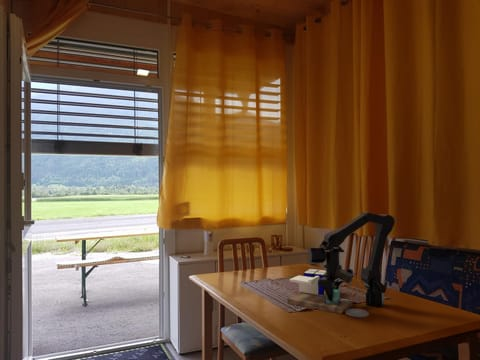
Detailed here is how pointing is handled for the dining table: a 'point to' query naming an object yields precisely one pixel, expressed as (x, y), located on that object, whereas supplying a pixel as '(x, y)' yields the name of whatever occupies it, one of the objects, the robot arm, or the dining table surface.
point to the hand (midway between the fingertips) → (333, 299)
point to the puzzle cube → (321, 275)
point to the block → (334, 298)
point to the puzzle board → (319, 302)
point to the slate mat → (356, 312)
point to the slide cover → (307, 284)
